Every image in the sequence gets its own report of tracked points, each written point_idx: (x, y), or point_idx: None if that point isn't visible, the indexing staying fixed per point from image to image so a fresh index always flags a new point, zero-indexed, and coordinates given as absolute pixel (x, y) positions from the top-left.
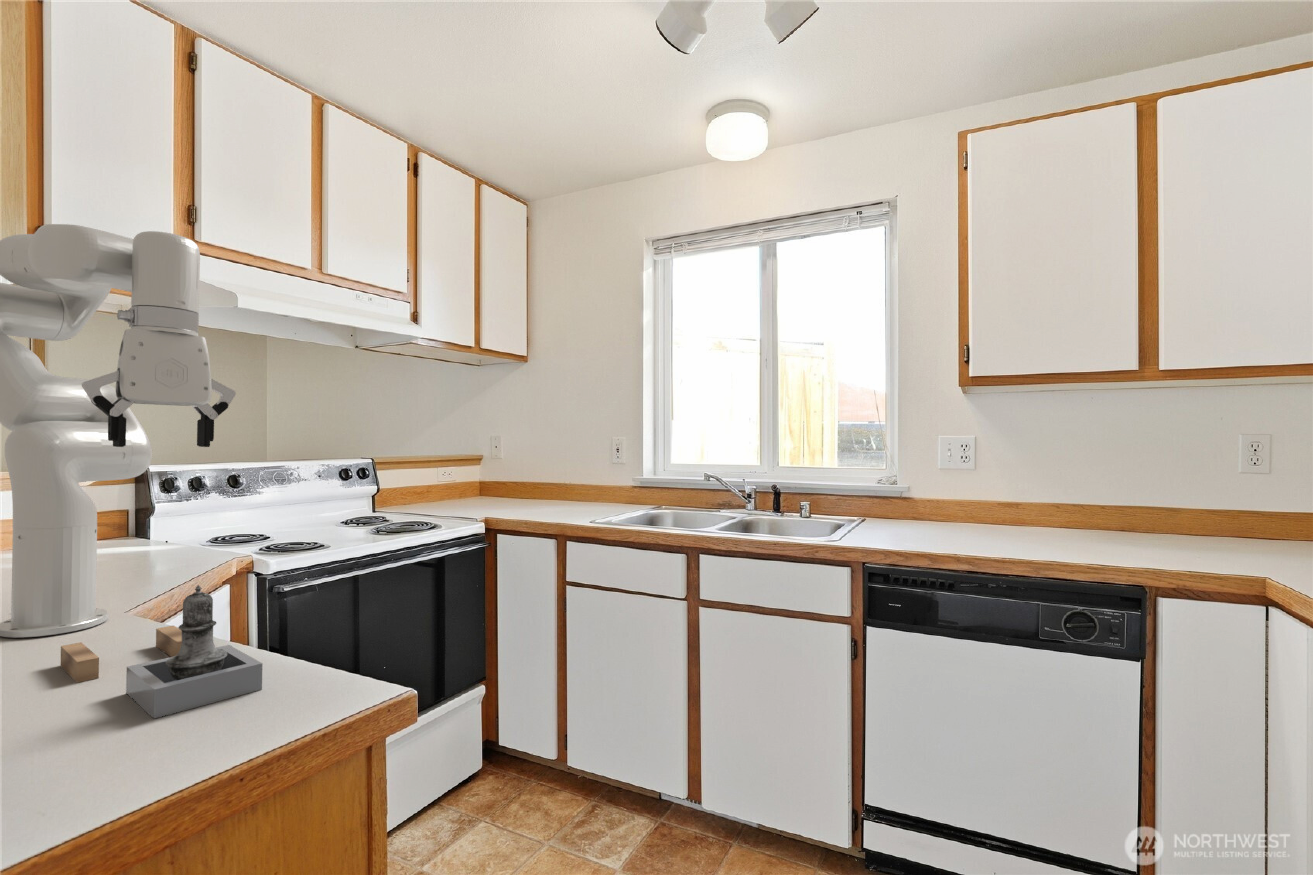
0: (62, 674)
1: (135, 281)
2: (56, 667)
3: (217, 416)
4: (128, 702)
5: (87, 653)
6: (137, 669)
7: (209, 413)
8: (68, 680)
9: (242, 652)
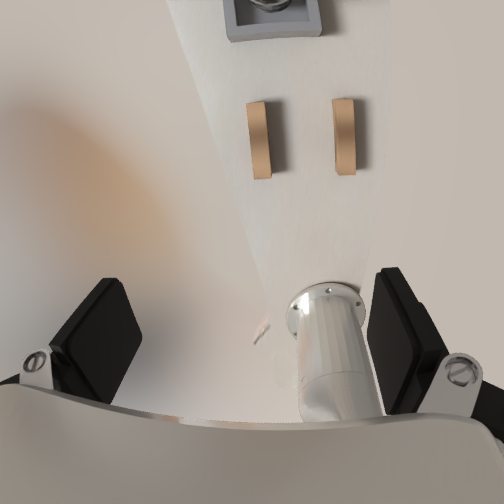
0: None
1: None
2: None
3: (26, 355)
4: None
5: (342, 124)
6: (315, 15)
7: (39, 370)
8: None
9: (223, 4)
